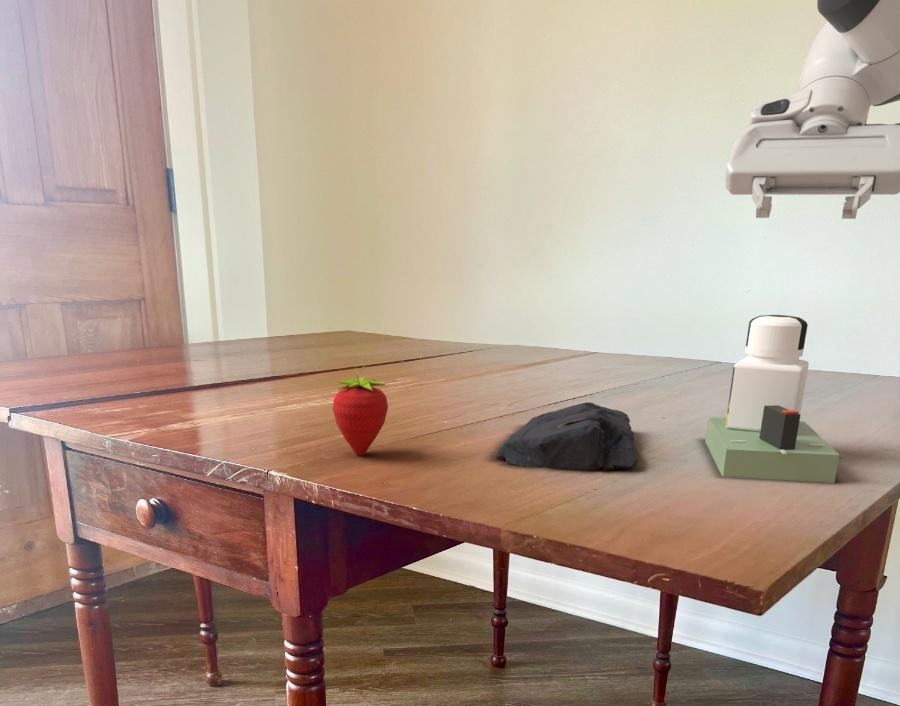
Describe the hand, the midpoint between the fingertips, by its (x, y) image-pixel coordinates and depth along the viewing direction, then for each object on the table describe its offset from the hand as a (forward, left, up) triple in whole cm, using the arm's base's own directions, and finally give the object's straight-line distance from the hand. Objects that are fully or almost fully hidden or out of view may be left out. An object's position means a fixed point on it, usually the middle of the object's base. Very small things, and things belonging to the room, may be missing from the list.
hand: (804, 214), depth 100 cm
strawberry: (+47, +23, -26) cm, 59 cm away
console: (+3, +16, -25) cm, 30 cm away
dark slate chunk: (+24, +14, -26) cm, 38 cm away
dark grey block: (+3, +21, -22) cm, 31 cm away
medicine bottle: (+3, +12, -23) cm, 26 cm away
